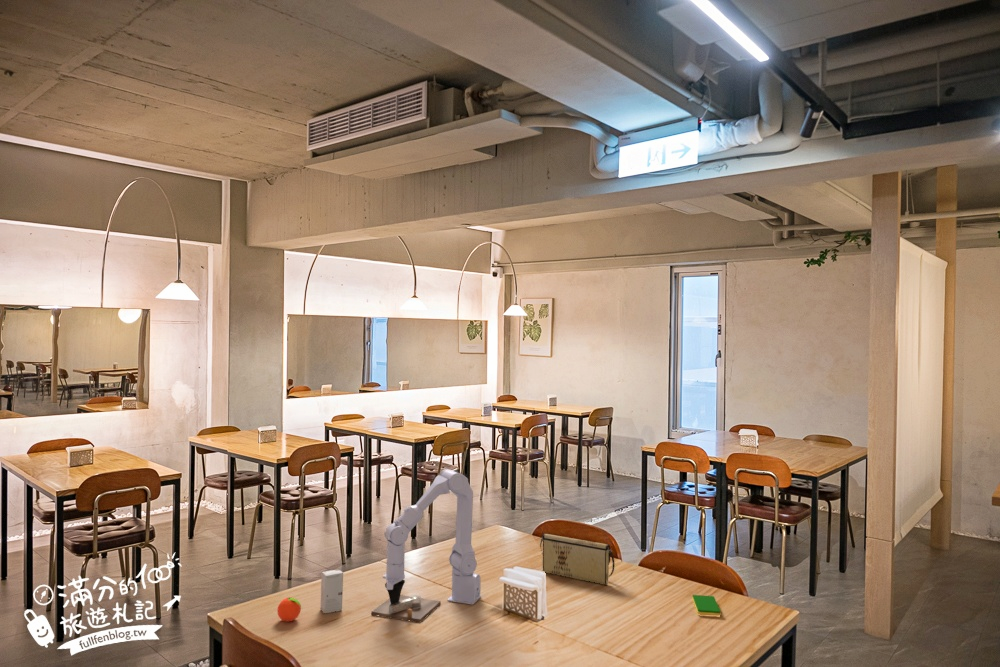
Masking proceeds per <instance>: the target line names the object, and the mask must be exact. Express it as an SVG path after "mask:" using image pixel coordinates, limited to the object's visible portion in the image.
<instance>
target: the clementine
mask: <svg viewBox="0 0 1000 667" xmlns="http://www.w3.org/2000/svg"><path fill="white" fill-rule="evenodd" d="M301 609H302V605H301V603H300V601H299V600H298V599H296V598H295V597H290V596H289V597H286V598H284V599H282V600H281V601H280V602H279V604H278V606H277V615H278V618H280V621H283V622H292V621H294V620H296V619H297V618H298V617H299V615H300V613H301Z"/></svg>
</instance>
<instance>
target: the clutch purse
mask: <svg viewBox="0 0 1000 667" xmlns="http://www.w3.org/2000/svg"><path fill="white" fill-rule="evenodd" d="M539 546H540V548H542V549H540V551H541V554H542V571H545V572H546V574H550V573H553V574H552V575H555V574H557V575H556V576H560V575H562V576H561V577H565V576H566V577H565V578H569V579H570V578H571V579H576V580H579V579H580V581H584V580H585V582H589V581H590V583H594V582H595V584H599V583H600V585H604V584H605V586H608V585H607V584H609V577H611V576H612V575H613V573H614V571H615V558H614V553H613V550H612V548H611V545H610V544H606V543H602V542H595V541H590V540H583V539H578V538H573V537H572V538H571V537H567V536H560V535H555V534H549V533H542V536H541V538H540V544H539ZM611 561H612V569H611V573H609V569H610V568H609V565H610V563H611ZM547 572H548V573H547Z"/></svg>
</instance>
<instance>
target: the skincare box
mask: <svg viewBox="0 0 1000 667" xmlns="http://www.w3.org/2000/svg"><path fill="white" fill-rule="evenodd" d="M320 580H321V582H320V584H321V585H320V586H321V587H320V607H319V608H320V610H322V611H323V612H324V613H325V614H330V613H335V611H336V612H341V611H342V610H343V591H344V588H343V587H344V572H343V571H342V570H340V569H334V570H333V569H332V570H327V571H321V578H320ZM322 611H321V612H322ZM323 612H322V613H323ZM324 613H323V614H324Z"/></svg>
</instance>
